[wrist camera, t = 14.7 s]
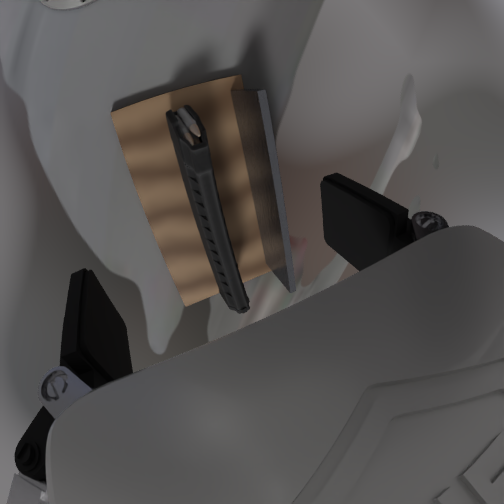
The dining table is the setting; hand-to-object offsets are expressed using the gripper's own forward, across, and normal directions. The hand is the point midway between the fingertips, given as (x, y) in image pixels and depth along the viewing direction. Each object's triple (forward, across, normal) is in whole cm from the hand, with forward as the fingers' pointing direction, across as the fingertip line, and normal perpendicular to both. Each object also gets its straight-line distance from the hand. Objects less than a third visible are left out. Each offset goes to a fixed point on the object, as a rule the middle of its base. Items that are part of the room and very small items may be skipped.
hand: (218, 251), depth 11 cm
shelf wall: (+31, -13, +12) cm, 35 cm away
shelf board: (+32, -5, +12) cm, 35 cm away
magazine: (+31, -4, +12) cm, 34 cm away
